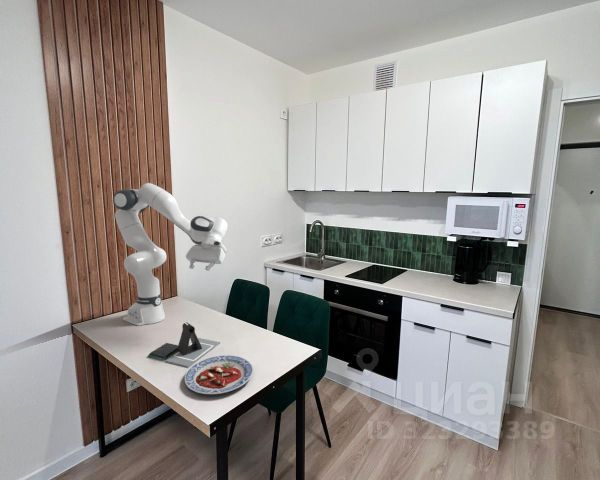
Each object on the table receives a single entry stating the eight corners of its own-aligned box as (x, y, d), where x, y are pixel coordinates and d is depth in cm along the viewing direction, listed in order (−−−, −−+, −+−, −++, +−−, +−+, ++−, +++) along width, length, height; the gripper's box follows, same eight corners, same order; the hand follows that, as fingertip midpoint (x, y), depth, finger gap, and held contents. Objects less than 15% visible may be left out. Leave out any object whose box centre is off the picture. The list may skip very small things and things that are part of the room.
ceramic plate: (220, 408, 111) (220, 400, 110) (170, 384, 124) (169, 377, 123) (266, 370, 132) (266, 364, 132) (219, 354, 145) (219, 348, 145)
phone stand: (183, 355, 142) (181, 330, 140) (177, 350, 147) (175, 325, 145) (202, 348, 149) (201, 323, 146) (196, 344, 153) (194, 319, 151)
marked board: (165, 361, 139) (165, 360, 139) (199, 339, 159) (198, 337, 159) (188, 367, 135) (188, 366, 134) (219, 343, 155) (219, 341, 155)
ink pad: (148, 356, 143) (147, 353, 143) (166, 345, 153) (166, 342, 153) (164, 360, 140) (164, 357, 139) (182, 348, 150) (182, 345, 150)
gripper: (190, 240, 167) (178, 263, 160) (224, 243, 160) (213, 267, 153) (196, 247, 172) (185, 270, 165) (229, 250, 165) (219, 274, 158)
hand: (198, 269), depth 159 cm, fingers open, 8 cm apart
